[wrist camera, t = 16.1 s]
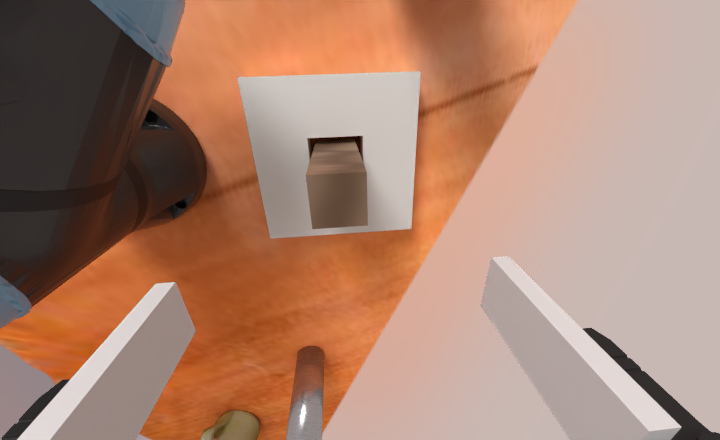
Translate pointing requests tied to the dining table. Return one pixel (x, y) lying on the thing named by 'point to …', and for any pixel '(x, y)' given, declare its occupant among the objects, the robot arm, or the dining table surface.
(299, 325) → the dining table surface
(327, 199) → the square peg
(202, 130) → the dining table surface
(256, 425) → the mug
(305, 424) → the round peg
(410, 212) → the socket plate
